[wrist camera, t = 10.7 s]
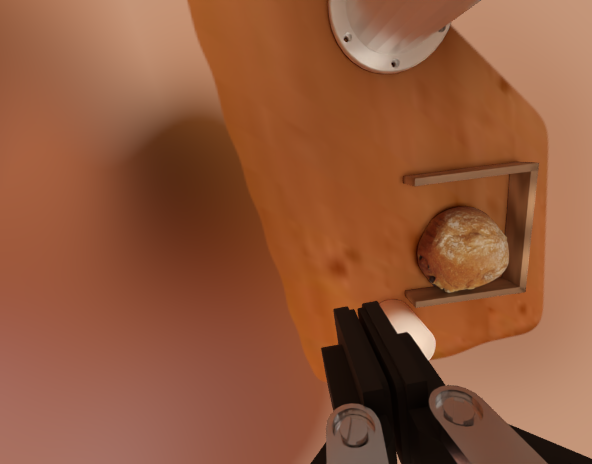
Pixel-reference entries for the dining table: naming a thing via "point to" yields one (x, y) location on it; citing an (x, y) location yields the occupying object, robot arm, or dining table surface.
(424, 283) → the dining table surface
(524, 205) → the open rail frame
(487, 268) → the bread roll
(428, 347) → the pot
